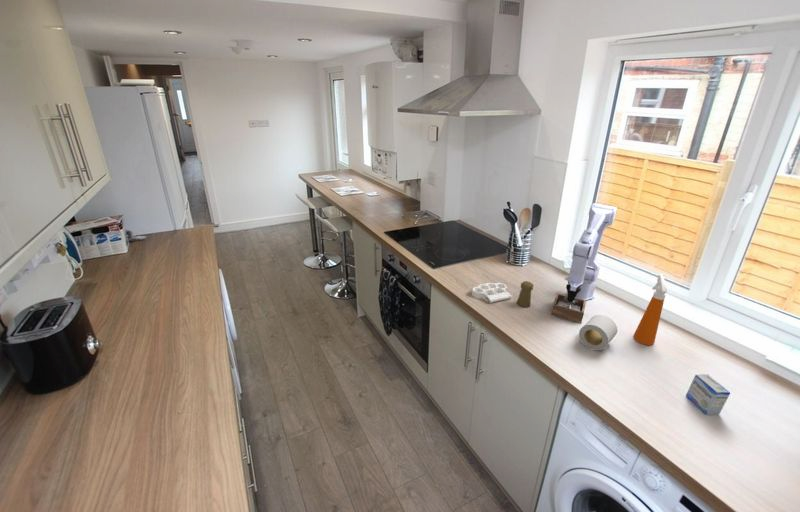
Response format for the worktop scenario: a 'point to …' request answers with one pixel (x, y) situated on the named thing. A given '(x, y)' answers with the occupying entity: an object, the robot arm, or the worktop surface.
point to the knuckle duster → (491, 292)
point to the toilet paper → (598, 332)
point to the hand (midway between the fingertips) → (570, 299)
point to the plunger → (569, 304)
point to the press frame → (568, 309)
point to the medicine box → (707, 394)
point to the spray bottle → (652, 314)
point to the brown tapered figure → (525, 295)
